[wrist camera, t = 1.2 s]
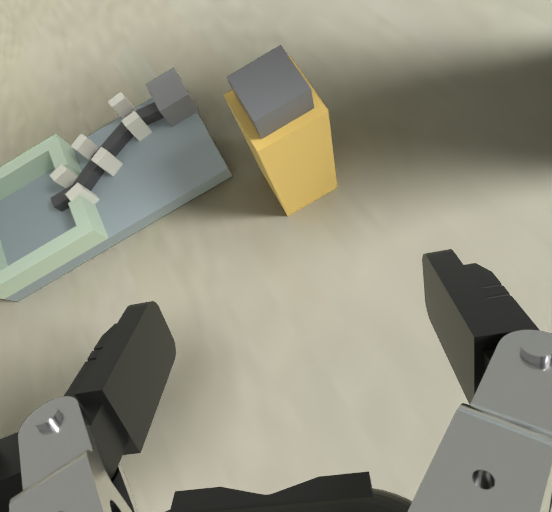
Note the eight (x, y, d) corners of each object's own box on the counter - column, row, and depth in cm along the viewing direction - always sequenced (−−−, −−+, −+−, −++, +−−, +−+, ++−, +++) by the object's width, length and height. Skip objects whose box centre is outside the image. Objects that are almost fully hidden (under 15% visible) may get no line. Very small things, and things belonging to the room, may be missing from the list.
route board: (187, 89, 33) (170, 61, 30) (235, 174, 30) (221, 153, 27) (-11, 207, 34) (-47, 192, 31) (17, 301, 31) (-20, 294, 28)
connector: (309, 145, 30) (284, 32, 20) (337, 187, 28) (325, 90, 18) (262, 172, 30) (213, 75, 20) (287, 216, 28) (249, 135, 18)
